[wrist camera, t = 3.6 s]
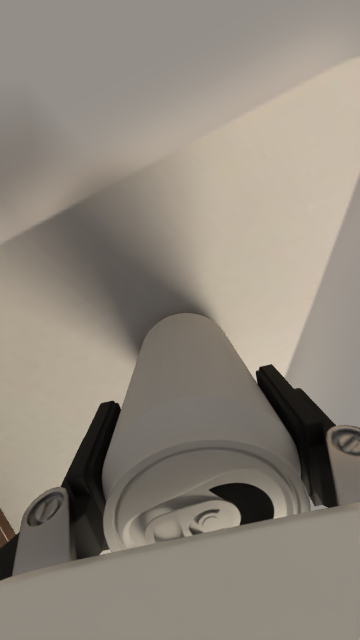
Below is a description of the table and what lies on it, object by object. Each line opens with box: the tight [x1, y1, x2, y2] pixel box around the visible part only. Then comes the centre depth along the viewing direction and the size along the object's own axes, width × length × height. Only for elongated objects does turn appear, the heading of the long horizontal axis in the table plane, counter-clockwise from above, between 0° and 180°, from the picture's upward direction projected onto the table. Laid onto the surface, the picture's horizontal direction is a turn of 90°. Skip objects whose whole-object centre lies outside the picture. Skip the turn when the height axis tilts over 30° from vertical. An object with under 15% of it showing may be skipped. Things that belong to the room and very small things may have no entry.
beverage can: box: [102, 313, 310, 552], centre depth 12 cm, size 6×6×12 cm
